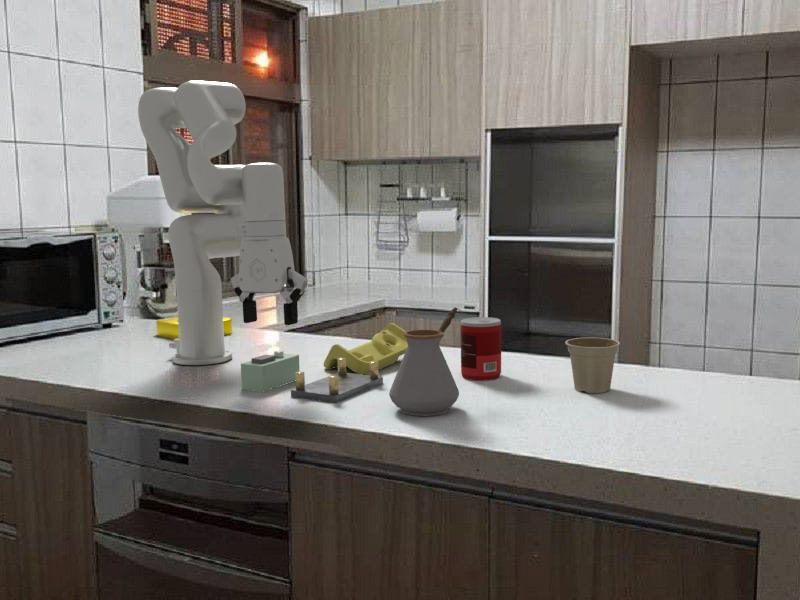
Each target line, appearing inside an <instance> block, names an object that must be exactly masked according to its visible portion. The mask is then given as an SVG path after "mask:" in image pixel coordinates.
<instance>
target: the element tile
mask: <svg viewBox="0 0 800 600" xmlns="http://www.w3.org/2000/svg"><path fill="white" fill-rule="evenodd" d="M232 321H233V320H232V318H230V317H226V316H223V327H224V336H226V335H232V334H233V325H232V324H233V322H232ZM155 325H156V335H157V337H161V338H166V339H172V340H174V339H179V326H178V316H174V317H168V318H167V317H166V318H160V319H156V323H155Z"/></svg>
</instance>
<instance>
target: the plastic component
mask: <svg viewBox="0 0 800 600" xmlns="http://www.w3.org/2000/svg"><path fill="white" fill-rule="evenodd" d="M405 332H407V330H404V329H403V328H402V327H400V326H399V325H397V324H396V323H394V322H391V323H390V322H389V323H388V324H386V325H385V326H384V327H383V328H382V329H381V331H380V332H378V333H376V334H374V336H373V337H372V339H371V340H370V341H367V342H365V343H363V344H361V345H358V346H356V347H353V348H351V349H347V348H345V347H343V346H342V345H340V344H337V343H335V344H333V345H332V346H331V348H330V350H329V352H328V354H327V355H326V358H325V360H324V361H323V367H324V369H327V370H331V369H330V368H332V369H334V368H333V367H335V368H337V367H336V366H338V358H346V368H348V369H350V370H351V371H352V372H354V373H355V374H366V375H370V374H369V373H370V364H369V362H370V361H378V371H380V370H383V369H384V368H387V367H389V366H390V365H394V364H395V363H397V361H398V358H399V357H401V356H404V354H405V352H406V349H407V347H408V343H407V339H406V337H405V336H404V333H405Z"/></svg>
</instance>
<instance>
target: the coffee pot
mask: <svg viewBox="0 0 800 600" xmlns="http://www.w3.org/2000/svg"><path fill="white" fill-rule="evenodd" d="M458 311H460V313H461V315H459V316H457V315H455V314H457V312H458ZM447 315H448V316H446V318H444V319H443V321H442V323H441V325H440V327H439V329H438V330H436V329H413V330H406V332H405V333H404V336H405V337H406V339H407V343H408V347H407V349H406V352H405V354H403V357H402V360H401V362H400V365H399V367H398V370H397V372H396V375H395V377H394V379H393V382H392V384H391V388H390V389H389V398H390V400H391V402H392V403H393V404H394V405H395V406H396V407H397V408H398V409H400V411H401V412H402V413H403V414H406V415H410V416H418V417H422V416H423V417H431V416H437V415H442V414H444V413H446V412H448V410H449V408H451V407H453V405H455V403H456V402H457V401H458V398H459V396H460V390H459V388H458V386H457V383H456V381H455V378H454V377H453V373H452V372H451V370H450V367H449V365H448V363H447V360H446V358H445V356H444V353H443V351H442V349H441V347H440V342H441V340H442V338H443V337H444V333H445V332H446V330H447V329H448V328H449V326H450V325H451V323H452V320H453V319H454V318H456V319H457V318H461V317H463V311H462V310H461V309H459V308H458V307H455V306H454V307H453V308H452V309H451V310H450V312H448V313H447Z"/></svg>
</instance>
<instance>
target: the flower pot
mask: <svg viewBox="0 0 800 600" xmlns="http://www.w3.org/2000/svg"><path fill="white" fill-rule="evenodd" d="M564 344H565V345H566V346H567V352H568V353H569V356H570V357H569V359H570V363H571V364H570V365H571V371H572V377H573V378H572V379H573V386H574V387H573V388H574V389H575V390H576V391H577V392H580V393H581V392H586V393H587V394H604V393H606V392H608V391H610V390H611V386H612V380H613V372H614V365H615V359H616V358H615V357H616V354H617V353H618V348H619V347H620V345H621V343H620V341H618V340H616V339H611V338H604V337H591V336H590V337H576V338H571V339H567V340H565V343H564Z"/></svg>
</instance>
